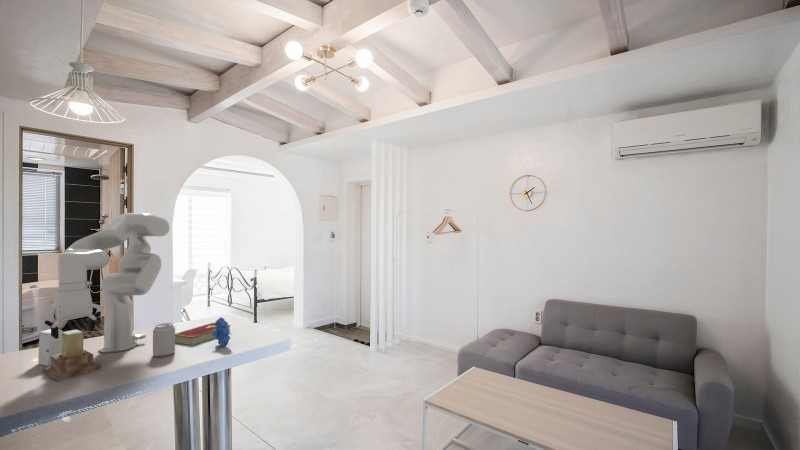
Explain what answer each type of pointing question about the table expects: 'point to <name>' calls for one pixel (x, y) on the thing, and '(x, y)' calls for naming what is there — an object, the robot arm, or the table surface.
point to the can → (163, 339)
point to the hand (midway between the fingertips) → (73, 334)
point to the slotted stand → (70, 366)
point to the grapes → (221, 332)
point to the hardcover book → (196, 334)
